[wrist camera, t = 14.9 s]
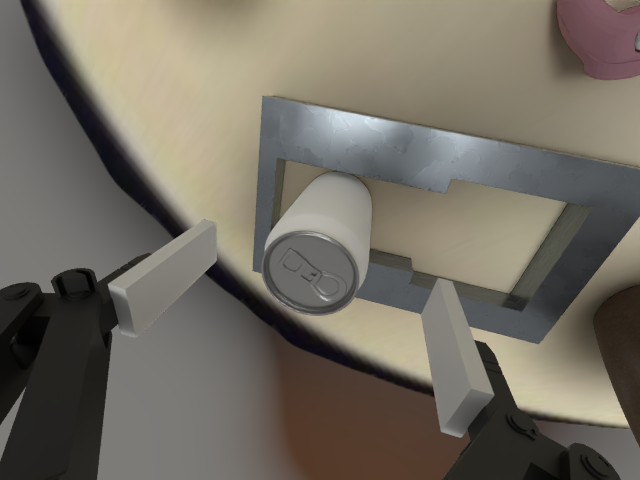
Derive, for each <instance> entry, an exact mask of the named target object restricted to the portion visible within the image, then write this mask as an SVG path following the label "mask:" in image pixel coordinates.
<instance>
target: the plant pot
mask: <svg viewBox="0 0 640 480" xmlns="http://www.w3.org/2000/svg"><path fill="white" fill-rule="evenodd" d="M594 329H595V333H596V337H597V341H598V345H599V348H600V351H601V355H602V358H603V361H604V364H605V367H606V370H607V372H608V375H609V378H610V380H611V383H612V386H613V388H614V391H615V393H616V396H617V398H618V401H619V403H620V405H621V408H622V410H623V412H624V415H625V417H626V419H627V421H628V424H629V426H630V428H631V430H632V432H633V434H634V436H635V439H636V441H637V443H638V445H639V447H640V286H635V287H632V288H629V289H626V290H624V291H621V292H619V293H617V294H615V295H614V296H612V297H611V298H609V299H608V300H607V301H605V302H604V303H603V304H602V305H601V306H600V308H599V309H598V310H597V312H596V314H595V317H594Z"/></svg>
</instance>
